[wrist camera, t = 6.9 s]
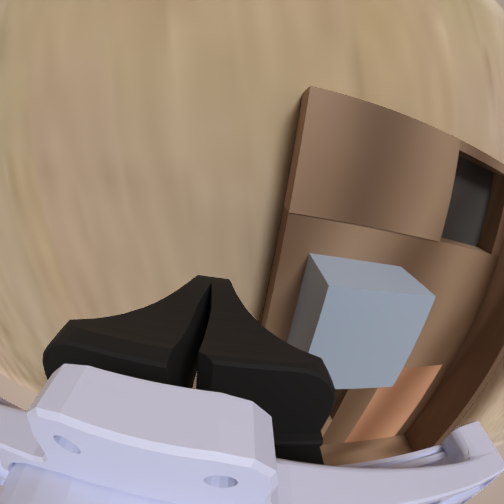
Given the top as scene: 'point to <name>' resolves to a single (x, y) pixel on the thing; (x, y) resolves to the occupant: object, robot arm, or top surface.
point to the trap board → (397, 261)
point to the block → (359, 319)
